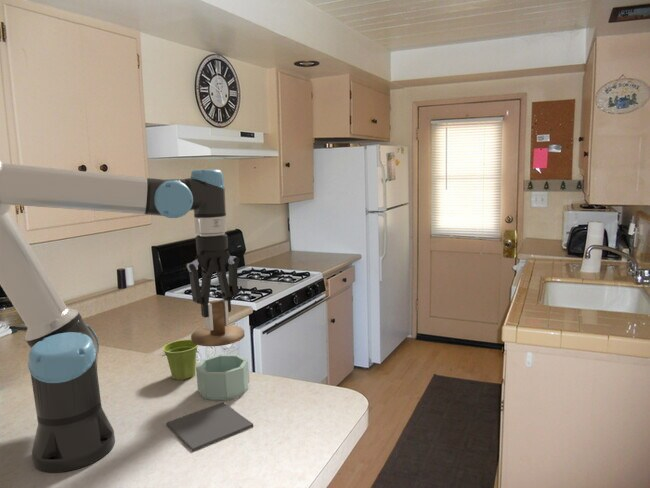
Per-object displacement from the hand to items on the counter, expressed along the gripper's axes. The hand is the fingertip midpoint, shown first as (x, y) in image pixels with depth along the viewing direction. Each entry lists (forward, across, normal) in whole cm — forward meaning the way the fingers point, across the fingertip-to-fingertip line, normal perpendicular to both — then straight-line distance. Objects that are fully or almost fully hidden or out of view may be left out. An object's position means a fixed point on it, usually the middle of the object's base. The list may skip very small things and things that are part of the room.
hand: (217, 327), depth 127 cm
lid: (+3, 0, 0) cm, 3 cm away
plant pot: (+17, -3, +16) cm, 24 cm away
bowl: (+17, +1, 0) cm, 17 cm away
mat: (+17, -10, -14) cm, 24 cm away
